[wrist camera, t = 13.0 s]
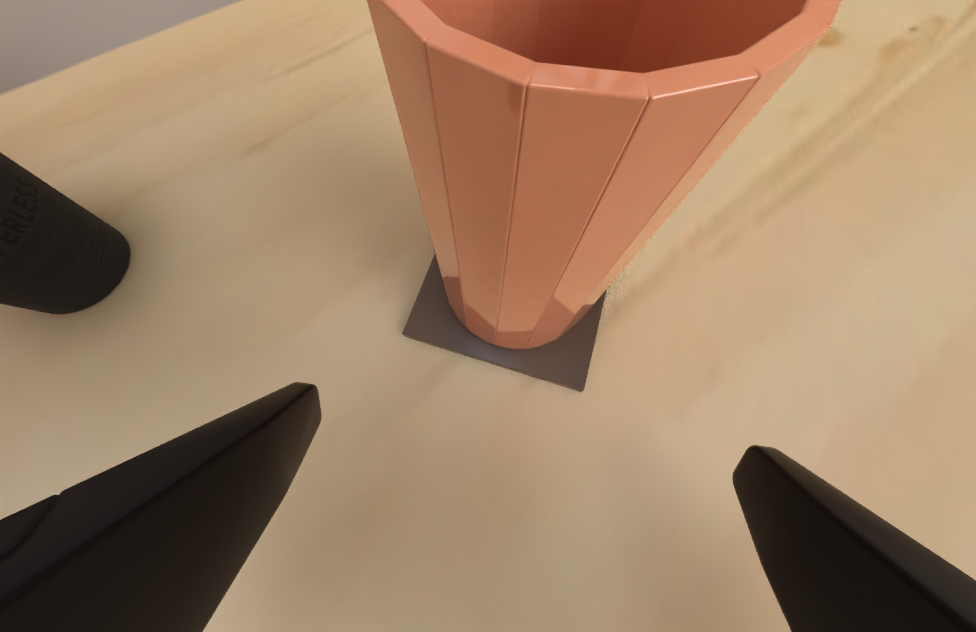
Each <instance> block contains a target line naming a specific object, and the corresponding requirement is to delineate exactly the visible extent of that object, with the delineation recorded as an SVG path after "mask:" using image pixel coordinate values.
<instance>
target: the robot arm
mask: <svg viewBox="0 0 976 632" xmlns="http://www.w3.org/2000/svg"><path fill="white" fill-rule="evenodd" d="M320 421H321V408H320V401H319V394H318V389H317V387H316V386H315V385H313V384H308V383H301V382H295V383H292V384H290V385H288V386H286V387H284V388H281V389H279V390H277V391H275V392H273V393H271V394H269V395H267V396H264V397H262V398H260V399H258V400H256V401H254V402H252V403H249V404H247V405H245V406H243V407H241V408H239V409H237V410H234V411H232V412H230V413H228V414H226V415H224V416H222V417H220V418H217V419H215V420H213V421H211V422H209V423H207V424H205V425H202V426H200V427H198V428H196V429H194V430H192V431H190V432H187V433H185V434H183V435H181V436H179V437H177V438H175V439H172V440H170V441H168V442H166V443H164V444H162V445H160V446H158V447H155V448H153V449H151V450H149V451H147V452H145V453H143V454H140V455H138V456H136V457H134V458H132V459H130V460H128V461H125V462H123V463H121V464H119V465H117V466H115V467H113V468H110V469H108V470H106V471H104V472H102V473H100V474H98V475H95V476H93V477H91V478H89V479H87V480H85V481H83V482H80V483H78V484H76V485H74V486H72V487H70V488H68V489H65V490H64V491H62V492H61V493H60V494H59V495H52V496H50V497H48V498H46V499H44V500H42V501H40V502H38V503H35V504H33V505H31V506H29V507H27V508H25V509H23V510H20V511H18V512H16V513H14V514H12V515H10V516H7V517H5V518H3V519H1V520H0V632H203V630H204V628H205V627H206V625H207V624H208V622H209V620H210V619H211V617H212V615H213V614H214V612H215V610H216V609H217V607H218V605H219V604H220V602H221V601H222V599H223V597H224V596H225V594H226V592H227V591H228V589H229V587H230V586H231V584H232V582H233V581H234V579H235V577H236V576H237V574H238V573H239V571H240V569H241V568H242V566H243V564H244V563H245V561H246V559H247V558H248V556H249V554H250V553H251V551H252V550H253V548H254V546H255V545H256V543H257V541H258V540H259V538H260V536H261V535H262V533H263V531H264V530H265V528H266V527H267V525H268V523H269V522H270V520H271V518H272V517H273V515H274V513H275V512H276V510H277V508H278V507H279V505H280V503H281V502H282V500H283V498H284V496H285V495H286V493H287V491H288V489H289V487H290V485H291V483H292V481H293V479H294V477H295V475H296V473H297V471H298V469H299V466H300V464H301V462H302V460H303V458H304V456H305V454H306V452H307V450H308V448H309V446H310V444H311V441H312V439H313V437H314V435H315V433H316V431H317V429H318V427H319V424H320ZM733 485H734V488H735V491H736V494H737V496H738V499H739V502H740V505H741V508H742V511H743V514H744V516H745V519H746V522H747V525H748V528H749V531H750V534H751V536H752V539H753V542H754V545H755V548H756V551H757V553H758V556H759V559H760V561H761V564H762V566H763V569H764V571H765V574H766V576H767V578H768V581H769V583H770V585H771V587H772V589H773V592H774V594H775V596H776V598H777V600H778V603H779V605H780V607H781V609H782V612H783V614H784V616H785V618H786V620H787V623H788V625H789V627H790V629H791V631H792V632H976V580H974V579H973V578H971V577H970V576H968V575H967V574H965V573H964V572H962V571H961V570H959V569H958V568H956V567H955V566H953V565H952V564H950V563H949V562H947V561H946V560H944V559H943V558H941V557H939V556H938V555H936V554H935V553H933V552H932V551H930V550H929V549H927V548H926V547H924V546H923V545H921V544H920V543H918V542H917V541H915V540H914V539H912V538H911V537H909V536H908V535H906V534H905V533H903V532H902V531H900V530H899V529H897V528H896V527H894V526H893V525H891V524H890V523H888V522H887V521H885V520H883V519H882V518H880V517H879V516H877V515H876V514H874V513H873V512H871V511H870V510H868V509H867V508H865V507H864V506H862V505H861V504H859V503H858V502H856V501H855V500H853V499H852V498H850V497H849V496H847V495H846V494H844V493H843V492H841V491H840V490H838V489H837V488H835V487H834V486H832V485H830V484H829V483H827V482H826V481H824V480H823V479H821V478H820V477H818V476H817V475H815V474H814V473H812V472H811V471H809V470H808V469H806V468H805V467H803V466H802V465H800V464H799V463H797V462H796V461H794V460H793V459H791V458H790V457H788V456H787V455H785V454H784V453H782V452H781V451H779V450H777V449H775V448H772V447H765V446H758V445H753V446H751V447H749V448H748V449H747V450H746V452H745V453H744V455H743V457H742V458H741V460H740V462H739V464H738V465H737V467H736V469H735V470H734V472H733Z"/></svg>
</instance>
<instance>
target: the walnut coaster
mask: <svg viewBox="0 0 976 632" xmlns="http://www.w3.org/2000/svg"><path fill="white" fill-rule="evenodd" d="M605 294H606V290H605V291H604V293H603V294H602V295H601V296H600V297H599V298H598V299H597V301H596V302H595V303H594V304H593V305H592V306H591V308H590V309H589V310H588V311H587V312H586V313H585V315H584V316H583V317H582V318H581V319H580V320H579V322H577V323H576V324H575V325H574V326H572V328H570V329H569V330H568V331H567V332H566V333H565V334H564V335H562V336H561V337H559V338H558V339H556V340H554V341H552V342H550V343H548V344H545V345H542V346H539V347H534V348H528V349H510V348H504V347H499V346H496V345H493V344H490V343H488V342H486V341H484V340H482V339H480V338H479V337H477V336H476V335H474V334H473V333H471V332H470V331H469V330H468V329H467V328H466V327H465V326H464V325H463V324H462V323H461V322H460V321H459V319H458V318H457V316H456V315H455V313H454V312H453V310H452V308H451V306H450V304H449V301H448V298H447V294H446V290H445V287H444V283H443V279H442V276H441V272H440V268H439V265H438V261H437V257H436V253H435V255H434V258H433V260H432V262H431V265H430V267H429V270H428V272H427V275H426V277H425V280H424V282H423V285H422V287H421V289H420V292H419V294H418V297H417V299H416V302H415V304H414V307H413V309H412V312H411V314H410V317H409V319H408V321H407V324H406V326H405V329H404V331H403V335H404V336H406V337H409V338H412V339H415V340H418V341H421V342H425V343H428V344H431V345H434V346H437V347H440V348H444V349H447V350H450V351H453V352H456V353H460V354H463V355H466V356H469V357H472V358H475V359H479V360H482V361H485V362H488V363H491V364H494V365H498V366H501V367H504V368H507V369H510V370H513V371H517V372H520V373H523V374H526V375H529V376H533V377H536V378H539V379H542V380H545V381H548V382H552V383H555V384H558V385H561V386H564V387H567V388H571V389H574V390H577V391H580V392H582V391H583V390H584V387H585V382H586V378H587V373H588V369H589V365H590V360H591V356H592V351H593V347H594V343H595V338H596V334H597V329H598V325H599V320H600V316H601V312H602V307H603V303H604V298H605Z"/></svg>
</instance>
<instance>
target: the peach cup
mask: <svg viewBox="0 0 976 632" xmlns="http://www.w3.org/2000/svg"><path fill="white" fill-rule="evenodd" d="M841 1H842V0H367V3H368V6H369V10H370V14H371V17H372V21H373V25H374V29H375V32H376V36H377V40H378V43H379V47H380V51H381V54H382V58H383V62H384V65H385V69H386V73H387V76H388V80H389V84H390V88H391V91H392V95H393V99H394V102H395V106H396V110H397V113H398V117H399V121H400V124H401V128H402V132H403V135H404V139H405V143H406V147H407V150H408V154H409V158H410V161H411V165H412V169H413V172H414V176H415V180H416V183H417V187H418V191H419V194H420V198H421V202H422V206H423V209H424V213H425V217H426V220H427V224H428V228H429V231H430V235H431V239H432V242H433V246H434V250H435V253H436V257H437V261H438V265H439V268H440V272H441V276H442V279H443V283H444V287H445V290H446V294H447V298H448V301H449V304H450V306H451V308H452V310H453V312H454V313H455V315H456V316H457V318H458V319H459V321H460V322H461V323H462V324H463V325H464V326H465V327H466V328H467V329H468V330H469V331H470V332H471V333H473V334H474V335H476V336H477V337H479V338H480V339H482V340H484V341H486V342H488V343H490V344H493V345H496V346H499V347H504V348H510V349H528V348H534V347H539V346H542V345H545V344H548V343H550V342H552V341H554V340H556V339H558V338H559V337H561V336H562V335H564V334H565V333H566V332H567V331H568V330H569V329H570V328H572V326H574V325H575V324H576V323H577V322H579V320H580V319H581V318H582V317H583V316H584V315H585V313H586V312H587V311H588V310H589V309H590V308H591V306H592V305H593V304H594V303H595V302H596V301H597V299H598V298H599V297H600V296H601V295H602V294H603V293H604V291H605V290H606V289H607V288H608V287H609V286H610V284H611V283H612V282H613V281H614V280H615V279H616V277H617V276H618V275H619V274H620V273H621V272H622V270H623V269H624V268H625V267H626V266H627V265H628V263H629V262H630V261H631V260H632V259H633V258H634V256H635V255H636V254H637V253H638V252H639V251H640V250H641V248H642V247H643V246H644V245H645V244H646V243H647V241H648V240H649V239H650V238H651V237H652V236H653V234H654V233H655V232H656V231H657V230H658V229H659V227H660V226H661V225H662V224H663V223H664V222H665V220H666V219H667V218H668V217H669V216H670V215H671V213H672V212H673V211H674V210H675V209H676V208H677V207H678V205H679V204H680V203H681V202H682V201H683V200H684V198H685V197H686V196H687V195H688V194H689V193H690V191H691V190H692V189H693V188H694V187H695V186H696V184H697V183H698V182H699V181H700V180H701V179H702V177H703V176H704V175H705V174H706V173H707V172H708V170H709V169H710V168H711V167H712V166H713V165H714V164H715V162H716V161H717V160H718V159H719V158H720V157H721V155H722V154H723V153H724V152H725V151H726V150H727V148H728V147H729V146H730V145H731V144H732V143H733V141H734V140H735V139H736V138H737V137H738V136H739V134H740V133H741V132H742V131H743V130H744V129H745V127H746V126H747V125H748V124H749V123H750V122H751V121H752V119H753V118H754V117H755V116H756V115H757V114H758V112H759V111H760V110H761V109H762V108H763V107H764V105H765V104H766V103H767V102H768V101H769V100H770V98H771V97H772V96H773V95H774V94H775V93H776V91H777V90H778V89H779V88H780V87H781V86H782V84H783V83H784V82H785V81H786V80H787V79H788V78H789V76H790V75H791V74H792V73H793V72H794V71H795V69H796V68H797V67H798V66H799V65H800V64H801V62H802V61H803V60H804V59H805V58H806V57H807V55H808V54H809V53H810V52H811V51H812V50H813V48H814V47H815V46H816V45H817V44H818V43H819V41H820V40H821V39H822V38H823V37H824V36H825V35H826V33H827V32H828V31H829V30H830V28H831V27H832V25H833V22H834V20H835V17H836V14H837V12H838V9H839V6H840V4H841Z"/></svg>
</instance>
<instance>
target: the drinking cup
mask: <svg viewBox="0 0 976 632" xmlns="http://www.w3.org/2000/svg"><path fill="white" fill-rule="evenodd" d="M129 257H130V252H129V246H128V243H127V241H126V239H125V238H124V236H123V235H122V234H121V233H120V232H119V231H117V230H116V229H114V228H113V227H111V226H110V225H108V224H107V223H105V222H104V221H102V220H101V219H99V218H98V217H96V216H95V215H93V214H92V213H90V212H89V211H87V210H86V209H84V208H83V207H81V206H80V205H78V204H77V203H75V202H74V201H72V200H71V199H69V198H68V197H66V196H65V195H63V194H62V193H60V192H59V191H57V190H56V189H54V188H53V187H51V186H50V185H48V184H47V183H45V182H44V181H42V180H41V179H39V178H38V177H36V176H35V175H33V174H32V173H30V172H29V171H27V170H26V169H24V168H23V167H21V166H20V165H18V164H17V163H15V162H14V161H12V160H11V159H9V158H8V157H6V156H5V155H3V154H2V153H0V304H5V305H10V306H15V307H20V308H25V309H30V310H35V311H40V312H46V313H52V314H64V313H71V312H76V311H79V310H82V309H85V308H87V307H89V306H91V305H93V304H95V303H97V302H98V301H100V300H101V299H103V298H104V297H105V296H107V295H108V294H109V293H110V292H111V291H112V290H113V289H114V288H115V287H116V286H117V285H118V283H119V282H120V281H121V279H122V278H123V276H124V274H125V272H126V270H127V267H128V263H129Z"/></svg>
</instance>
